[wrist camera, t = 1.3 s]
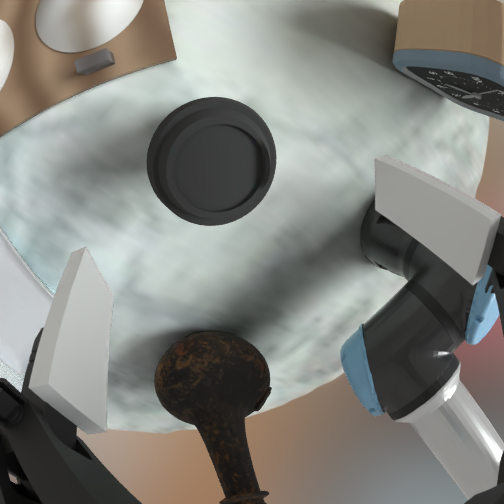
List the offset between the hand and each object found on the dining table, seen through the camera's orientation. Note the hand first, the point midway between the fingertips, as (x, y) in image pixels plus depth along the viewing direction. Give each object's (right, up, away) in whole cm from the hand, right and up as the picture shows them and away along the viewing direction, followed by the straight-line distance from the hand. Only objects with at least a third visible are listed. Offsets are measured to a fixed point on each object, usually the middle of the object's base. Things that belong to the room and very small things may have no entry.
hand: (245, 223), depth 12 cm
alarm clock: (+26, +28, +19) cm, 42 cm away
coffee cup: (-6, +11, +18) cm, 22 cm away
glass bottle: (-8, -18, +35) cm, 40 cm away
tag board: (-23, +21, +6) cm, 32 cm away
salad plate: (-36, -8, +20) cm, 42 cm away
